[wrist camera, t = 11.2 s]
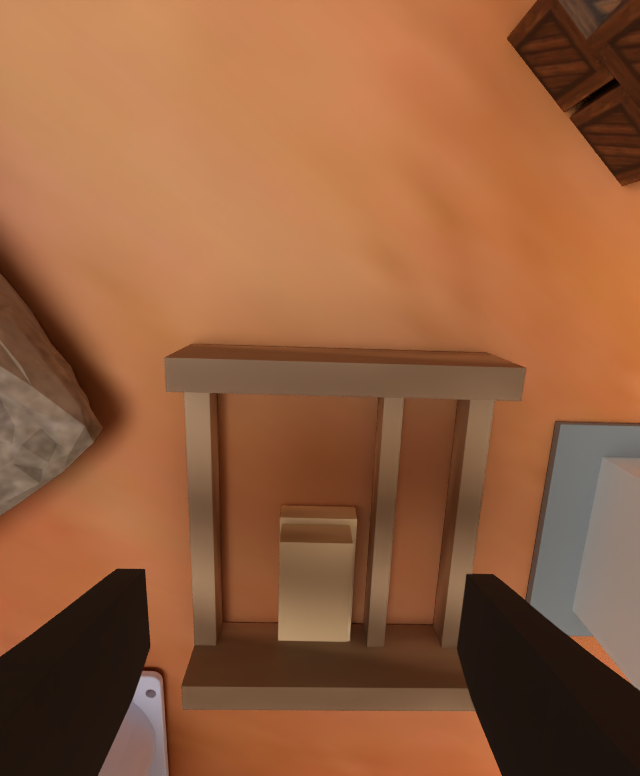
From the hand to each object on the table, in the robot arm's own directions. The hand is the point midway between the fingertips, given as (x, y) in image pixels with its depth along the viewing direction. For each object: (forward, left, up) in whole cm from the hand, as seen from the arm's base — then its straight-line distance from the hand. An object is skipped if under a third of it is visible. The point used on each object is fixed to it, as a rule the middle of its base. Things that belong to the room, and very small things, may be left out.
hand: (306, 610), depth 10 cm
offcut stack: (-6, -1, -10) cm, 12 cm away
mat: (-4, -14, -10) cm, 18 cm away
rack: (-3, -2, -10) cm, 11 cm away
